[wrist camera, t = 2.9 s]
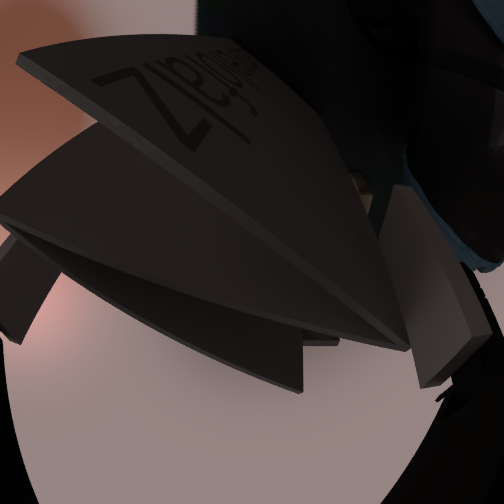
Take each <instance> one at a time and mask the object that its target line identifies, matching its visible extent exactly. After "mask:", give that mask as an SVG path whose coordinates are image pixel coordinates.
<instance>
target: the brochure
mask: <svg viewBox="0 0 504 504" xmlns="http://www.w3.org/2000/svg"><path fill="white" fill-rule="evenodd" d="M16 65H18V66H19V67H20V68H22V69H23V70H25V71H26V72H28V73H29V74H31V75H32V76H34V77H35V78H37V79H38V80H40V81H41V82H42V83H44V84H45V85H47V86H48V87H50V88H51V89H53V90H54V91H56V92H57V93H58V94H60V95H61V96H63V97H64V98H66V99H67V100H68V101H70V102H71V103H73V104H74V105H76V106H77V107H79V108H80V109H81V110H83V111H84V112H86V113H87V114H88V115H90V116H91V117H93V118H94V119H96V120H97V121H98V122H97V123H95V124H94V125H92V126H90V127H89V128H87V129H86V130H84V131H83V132H81V133H80V134H78V135H77V136H75V137H74V138H72V139H71V140H69V141H68V142H66V143H65V144H64V145H62V146H61V147H59V148H58V149H57V150H55V151H54V152H53V153H51V154H50V155H49V156H47V157H46V158H45V159H43V160H42V161H41V162H40V163H38V164H37V165H36V166H35V167H33V168H32V169H31V170H30V171H28V172H27V173H26V174H25V175H24V176H22V177H21V178H20V179H19V180H18V181H17V182H16V183H14V184H13V185H12V186H11V187H10V188H9V189H8V190H7V191H6V192H5V193H4V194H2V195H1V196H0V224H1V225H2V226H3V227H4V228H5V229H6V230H8V231H9V232H10V233H11V234H12V235H14V236H15V237H16V238H17V239H19V240H20V241H21V242H22V243H23V244H25V245H26V246H27V247H29V248H30V249H31V250H32V251H34V252H35V253H36V254H38V255H39V256H40V257H42V258H43V259H44V260H46V261H47V262H48V263H50V264H51V265H52V266H54V267H55V268H57V269H58V270H59V271H61V272H62V273H64V274H65V275H67V276H68V277H69V278H71V279H72V280H74V281H75V282H77V283H78V284H80V285H81V286H83V287H85V288H86V289H87V290H89V291H90V292H92V293H94V294H95V295H97V296H98V297H100V298H101V299H103V300H105V301H106V302H108V303H109V304H111V305H113V306H114V307H116V308H118V309H119V310H121V311H123V312H124V313H126V314H128V315H130V316H131V317H133V318H135V319H137V320H138V321H140V322H142V323H144V324H145V325H147V326H149V327H151V328H153V329H155V330H156V331H158V332H160V333H162V334H164V335H166V336H168V337H169V338H171V339H173V340H175V341H177V342H179V343H181V344H183V345H185V346H187V347H189V348H191V349H193V350H196V351H197V352H199V353H201V354H204V355H206V356H208V357H210V358H212V359H214V360H216V361H219V362H221V363H223V364H225V365H227V366H230V367H232V368H234V369H237V370H239V371H241V372H244V373H246V374H248V375H251V376H253V377H256V378H258V379H261V380H263V381H266V382H268V383H271V384H273V385H276V386H278V387H281V388H284V389H286V390H289V391H292V392H295V393H297V394H299V393H303V339H302V328H303V329H307V330H311V331H315V332H319V333H323V334H327V335H331V336H335V337H339V338H343V339H348V340H352V341H356V342H361V343H366V344H370V345H374V346H379V347H384V348H388V349H393V350H398V351H403V352H406V351H407V350H409V349H411V345H410V341H409V337H408V333H407V330H406V326H405V323H404V319H403V316H402V312H401V309H400V305H399V302H398V299H397V296H396V292H395V289H394V286H393V283H392V280H391V277H390V274H389V271H388V268H387V266H386V263H385V260H384V257H383V255H382V252H381V249H380V246H379V244H378V240H377V237H376V235H375V232H374V230H373V227H372V225H371V222H370V220H369V217H368V215H367V213H366V210H365V208H364V205H363V203H362V201H361V199H360V196H359V194H358V192H357V190H356V187H355V185H354V183H353V181H352V179H351V176H350V174H349V172H348V170H347V168H346V166H345V164H344V162H343V160H342V158H341V156H340V154H339V152H338V150H337V148H336V146H335V144H334V142H333V140H332V138H331V136H330V134H329V133H328V131H327V129H326V127H325V125H324V123H323V121H322V120H321V118H320V116H319V115H318V114H317V113H316V112H315V111H314V110H313V109H312V108H311V107H310V106H309V105H308V104H307V103H306V102H305V101H304V100H303V99H302V98H301V97H299V96H298V95H297V94H296V93H295V92H294V91H293V90H292V89H291V88H290V87H289V86H287V85H286V84H285V83H284V82H283V81H282V80H281V79H280V78H278V77H277V76H276V75H275V74H274V73H273V72H271V71H270V70H269V69H268V68H267V67H265V66H264V65H263V64H262V63H261V62H259V61H258V60H257V59H256V58H254V57H253V56H252V55H251V54H249V53H248V52H247V51H245V50H244V49H243V48H241V47H240V46H239V45H238V44H236V43H235V42H233V41H232V40H231V39H228V38H219V37H209V36H197V35H177V34H138V35H120V36H108V37H98V38H90V39H83V40H76V41H70V42H64V43H59V44H54V45H49V46H44V47H40V48H36V49H32V50H29V51H25V52H21V53H19V56H18V58H17V61H16Z"/></svg>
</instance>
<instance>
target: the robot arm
mask: <svg viewBox="0 0 504 504" xmlns="http://www.w3.org/2000/svg"><path fill="white" fill-rule="evenodd" d="M347 4H348V7H349V10H350V13H351V15H352V17H353V19H354V21H355V23H356V24H357V26H358V27H359V29H360V30H361V31H362V32H363V34H364V35H365V36H366V37H367V38H368V39H369V40H370V41H371V42H372V43H373V44H375V45H376V46H377V47H378V48H380V49H381V50H383V51H384V52H386V53H388V54H390V55H392V56H394V57H396V58H399V59H402V60H406V61H410V62H414V63H417V69H416V81H415V91H414V100H413V108H412V116H411V123H410V129H409V135H408V140H407V144H405V147H404V151H403V162H404V164H403V172H402V178H401V184H400V185H395V184H394V187H393V191H392V194H391V198H390V202H389V205H388V209H387V212H386V216H385V219H384V222H383V226H382V229H381V232H380V235H379V238H378V244H379V246H380V249H381V252H382V255H383V257H384V260H385V263H386V266H387V268H388V271H389V274H390V277H391V280H392V283H393V286H394V289H395V292H396V296H397V299H398V302H399V305H400V309H401V312H402V316H403V319H404V323H405V326H406V330H407V333H408V337H409V341H410V345H411V349H412V353H413V357H414V361H415V366H416V371H417V375H418V380H419V384H420V389H422V388H429V387H434V386H440V385H441V384H442V383H443V382H445V381H446V380H447V379H448V378H449V377H450V376H451V379H452V383H453V385H451V386H450V387H449V388H448V389H447V390H445V391H444V392H443V393H442V394H440V395H439V396H438V398H437V399H436V400H435V401H436V402H439V401H440V400H441V399H443V398H444V397H445V398H444V400H443V402H442V404H441V406H440V408H439V410H438V412H437V415H436V417H435V419H434V420H433V422H432V425H431V426H430V428H429V430H428V432H427V434H426V436H425V437H424V439H423V441H422V443H421V445H420V446H419V448H418V450H417V451H416V453H415V455H414V456H413V458H412V459H411V461H410V463H409V464H408V466H407V467H406V469H405V470H404V472H403V473H402V475H401V476H400V478H399V479H398V481H397V482H396V483H395V485H394V486H393V488H392V489H391V490H390V492H389V493H388V495H387V496H386V497H385V499H384V500H383V501H382V502H381V504H504V336H503V334H502V332H501V329H500V327H499V325H498V322H497V320H496V317H495V315H494V313H493V311H492V309H491V306H490V304H489V302H488V300H487V298H485V294H484V292H483V290H482V288H480V284H479V282H478V280H477V278H476V276H475V274H474V273H473V272H472V271H475V270H476V269H477V270H478V271H479V272H481V273H487V272H491V271H493V270H494V269H496V268H497V267H499V266H500V265H501V264H502V263H503V262H504V0H347ZM60 273H61V271H59V270H58V269H57V268H55V267H54V266H52V265H51V264H50V263H48V262H47V261H46V260H44V259H43V258H42V257H40V256H39V255H38V254H36V253H35V252H34V251H32V250H31V249H30V248H29V247H27V246H26V245H25V244H23V243H22V242H21V241H20V240H19V239H17V238H16V237H15V236H14V235H12V234H10V235H9V236H8V238H7V239H6V240H5V241H4V242H3V244H2V245H1V246H0V331H1V332H2V333H3V334H4V335H5V336H6V337H7V338H8V339H9V340H10V341H12V342H14V343H17V344H19V345H21V344H22V341H23V339H24V337H25V335H26V333H27V331H28V329H29V327H30V325H31V324H32V322H33V320H34V318H35V316H36V314H37V312H38V311H39V309H40V307H41V305H42V304H43V302H44V300H45V298H46V297H47V295H48V293H49V291H50V290H51V288H52V286H53V285H54V283H55V282H56V280H57V278H58V277H59V275H60ZM0 504H39V503H38V500H37V498H36V495H35V493H34V490H33V488H32V485H31V482H30V480H29V477H28V474H27V471H26V468H25V465H24V462H23V459H22V455H21V452H20V448H19V445H18V441H17V437H16V433H15V428H14V424H13V420H12V415H11V409H10V404H9V398H8V391H7V384H6V375H5V367H4V354H3V342H2V339H1V338H0Z"/></svg>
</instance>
